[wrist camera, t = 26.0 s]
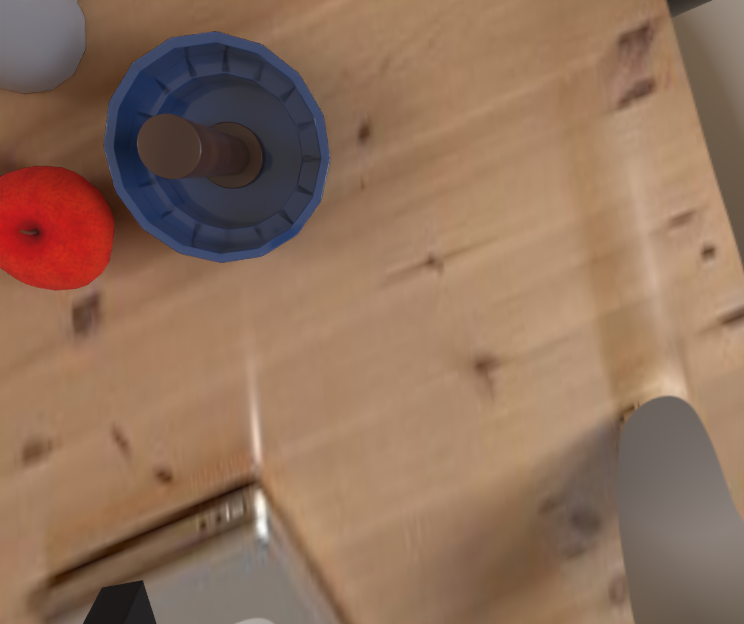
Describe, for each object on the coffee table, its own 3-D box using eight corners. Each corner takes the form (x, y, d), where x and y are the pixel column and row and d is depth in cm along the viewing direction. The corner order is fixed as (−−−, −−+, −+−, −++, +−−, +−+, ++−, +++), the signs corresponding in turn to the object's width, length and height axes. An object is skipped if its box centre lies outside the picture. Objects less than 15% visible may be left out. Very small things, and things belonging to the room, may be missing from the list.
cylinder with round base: (257, 118, 37) (210, 82, 22) (270, 183, 38) (233, 192, 23) (194, 127, 37) (100, 98, 22) (208, 192, 38) (129, 208, 23)
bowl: (310, 41, 37) (307, 18, 31) (341, 233, 40) (344, 243, 34) (116, 69, 36) (77, 50, 30) (164, 260, 40) (137, 276, 34)
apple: (145, 271, 40) (106, 293, 33) (36, 284, 39) (-28, 310, 32) (120, 159, 38) (72, 157, 30) (4, 172, 37) (-72, 173, 30)
